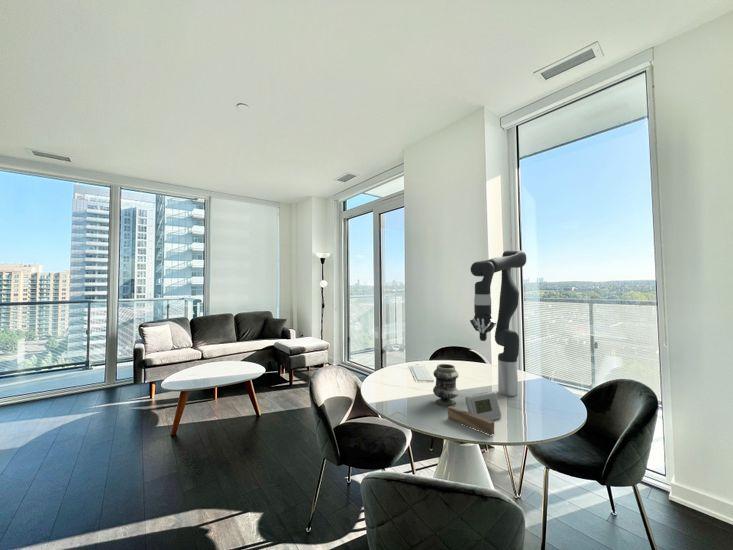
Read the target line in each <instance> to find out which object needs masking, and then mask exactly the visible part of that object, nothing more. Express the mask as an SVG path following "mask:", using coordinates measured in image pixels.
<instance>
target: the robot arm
mask: <svg viewBox="0 0 733 550" xmlns="http://www.w3.org/2000/svg"><path fill="white" fill-rule="evenodd" d="M526 263H527V255H526V252H524V251H523V250H517V249H515V250H512V249H511V250H505V251H504V252H502V255H501V256H497V257H492V258H490V259H487V260H478V261H474V262H473V263H472V264H471V265H470V273H471V274H472V275H473V276H475V277H482V279H481V280H480V281H477V282H475V284H474V298H473V301H474V303H473V304H474V305H473V307H474V309H473V311H474V315H473V318H472V319H470V320H469V322H470V323H471V326H472V327H473V328H474V330H475V331H476V332H478V333H479V340H480V342H486V340H487V338H488V337H487V336H488V335H487V333H490V332H491V331H492V330H493V329H494V327H495V326H496V327H495V331H494V340H495V343H496V344H497V345H498V346H501V347H503V351H502V352H500V353H498V354H497V373H498V374H497V379H498V380H497V382H498V383H497V384H498V385H497V387H498V388H497V389H498V391H497V393H498V394H500V395H503V396H506V397H507V396H509V397H515V396H517V395H518V388H519V387H518V382H519V381H518V379H519V378H518V377H519V376H518V357H519V353H520V337H519V334H518V332H516V331H515V330H511V329H510V322H511V319H512V317H513V315H514V314H515V312H516V310H517V308H518V307H519V298H520V297H519V296H520V291H519V290H518V287H517V285H516V283H515V282H514V279H513V277H512V272H511V271H512V269H514V268H516V269H517V268H522V267H524V266H525V265H526ZM497 272H501V283H500V291H499V292H500V293H499V303H498V305H499V306H498V313H497V321H494V320H493V318H492V298H491V297H492V296H491V286H492V281H493V278H494V277H493V276H494V274H496V273H497Z"/></svg>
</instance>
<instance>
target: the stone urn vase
mask: <svg viewBox="0 0 733 550" xmlns="http://www.w3.org/2000/svg"><path fill="white" fill-rule="evenodd" d="M432 375H433V377H434V378H435V386H433V389H432V391H433V394H434V395H435V396H436V397H437V398H438V399H436V400H435V404H436V405H438V406H440V407H445V408H448V407H450V406H453V407H455V405H457V402H456V401H455V400H454V399H455V398H456V397H458V396H459V393H460V392H459V391H460V390H458V388H457V379H458V378H459V373H458V371H457V370H456V367H455V365H453V364H449V363H439V364H437V365H436V368H435V369H434V371H433V374H432Z"/></svg>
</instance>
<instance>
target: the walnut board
mask: <svg viewBox="0 0 733 550" xmlns="http://www.w3.org/2000/svg"><path fill="white" fill-rule="evenodd" d="M447 420H449V421H452V422H454V421H455V422H454V423H456V422H458V423H457V424H459V423H460V424H459V425H461V424H463V425H462V426H464V425H465V426H464V427H466V426H468V427H467V428H469V427H471V428H474V429H476V430H479V431H482V432H484V433H487V434H489V435H492V434H494V435H495V420H493V421H491V420H488V419H486V418H483V417H480V416H477V415H475V414H472V413H469V412H468V411H467V410H464V409H461V408H458V407H455V406H450V407H447ZM471 428H470V429H471ZM474 429H473V430H474ZM476 430H475V431H476ZM479 431H478V432H479Z"/></svg>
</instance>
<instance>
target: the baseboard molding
mask: <svg viewBox="0 0 733 550" xmlns="http://www.w3.org/2000/svg"><path fill="white" fill-rule="evenodd" d="M409 370H410V372H411V374H412V376H414V377H413V378H414V381H415V382H416V380H417V381H434V379H433V377H432V375H431V373H430V372H429V370H428V369H427V367H426V365H418V364H417V363H416V364H415V365H410V366H409ZM415 378H416V379H415ZM434 382H435V381H434Z"/></svg>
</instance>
